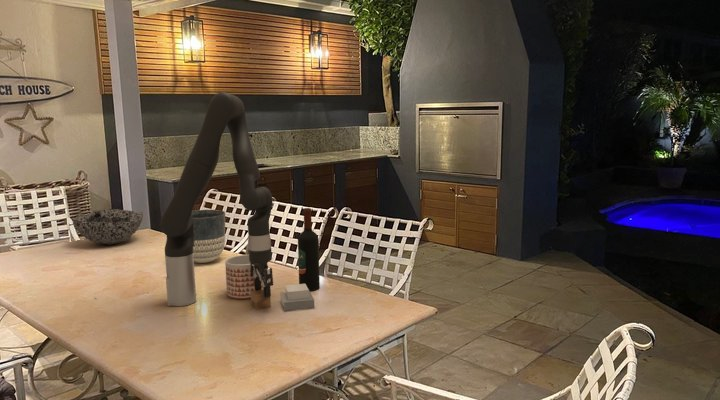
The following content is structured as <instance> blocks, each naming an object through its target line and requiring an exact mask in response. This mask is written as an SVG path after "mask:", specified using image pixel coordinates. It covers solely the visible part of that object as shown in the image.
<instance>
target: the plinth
mask: <svg viewBox="0 0 720 400" xmlns="http://www.w3.org/2000/svg"><path fill="white" fill-rule="evenodd" d="M284 289H285V290H284V292H280V303H281V305H282V308H283V311H284V312H290V311H291V312H292V311H299V310H308V309H315V298H314V297H313V295H312V293H311V291H309V289H308V288H307V286H306V284H299V283H298V284H287V285H285V287H284Z"/></svg>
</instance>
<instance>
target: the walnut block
mask: <svg viewBox="0 0 720 400" xmlns="http://www.w3.org/2000/svg"><path fill="white" fill-rule="evenodd" d="M271 304H272V303H271V296H270V297H267V298H265V297H264V290H257V291H251V306H252V307H253V308H254V309H255V310H256V311H258V310H264V309H269V308H271V307H272V305H271Z"/></svg>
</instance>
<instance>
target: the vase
mask: <svg viewBox="0 0 720 400" xmlns="http://www.w3.org/2000/svg"><path fill="white" fill-rule="evenodd" d="M224 264H225V280H226V283H225V285H226V295H227V296H228V298H231V299H233V300H234V299H235V300H250V299H251V291H256V290H255V287H254V280H253V277H251V264H250V261H249V254H239V255H233V256H230V257H229V258H226V260H225V263H224ZM261 290H263V283H262V281H261Z"/></svg>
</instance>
